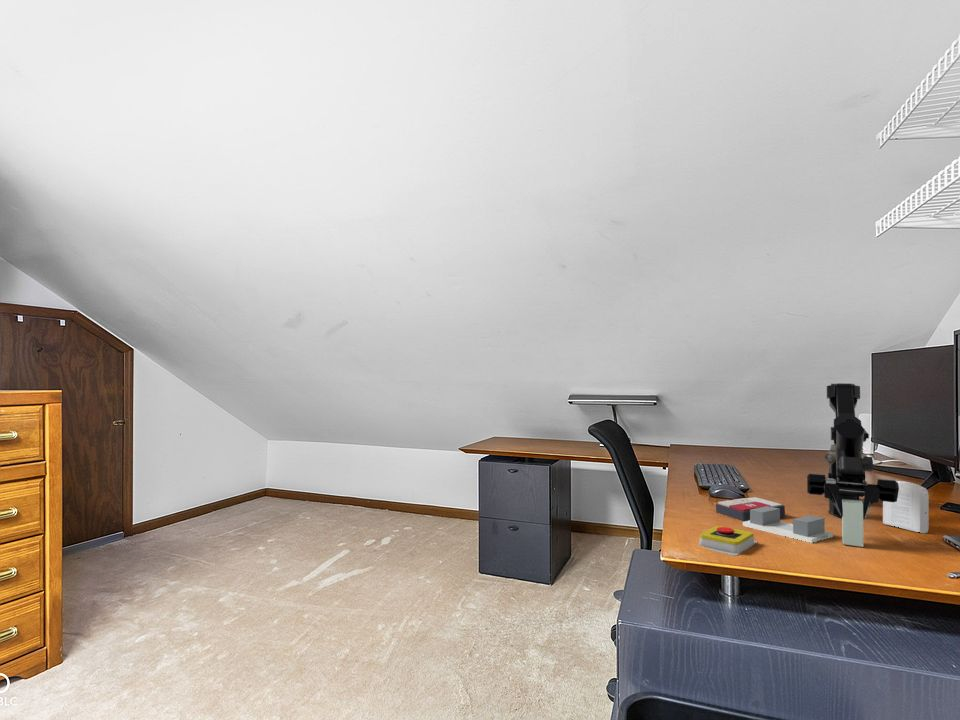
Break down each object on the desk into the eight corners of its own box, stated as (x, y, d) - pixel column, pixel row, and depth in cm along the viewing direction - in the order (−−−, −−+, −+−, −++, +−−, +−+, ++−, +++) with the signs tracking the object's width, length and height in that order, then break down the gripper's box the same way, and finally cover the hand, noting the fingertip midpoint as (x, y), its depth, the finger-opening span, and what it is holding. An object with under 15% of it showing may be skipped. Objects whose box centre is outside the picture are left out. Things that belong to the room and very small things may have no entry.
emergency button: (695, 530, 133) (719, 518, 144) (695, 549, 133) (719, 536, 144) (735, 538, 127) (758, 525, 137) (736, 558, 126) (758, 544, 137)
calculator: (714, 500, 167) (755, 495, 171) (715, 515, 167) (755, 509, 171) (743, 509, 156) (785, 503, 161) (743, 525, 156) (786, 518, 161)
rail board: (742, 525, 152) (742, 508, 152) (764, 520, 157) (764, 504, 157) (811, 543, 136) (811, 524, 136) (833, 537, 142) (832, 518, 142)
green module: (842, 539, 138) (841, 498, 139) (861, 542, 136) (861, 500, 137) (843, 544, 135) (842, 502, 135) (863, 546, 133) (863, 504, 133)
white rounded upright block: (932, 532, 146) (931, 484, 147) (922, 534, 145) (921, 485, 145) (889, 522, 156) (889, 477, 156) (880, 524, 154) (879, 478, 154)
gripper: (807, 441, 144) (807, 492, 134) (897, 446, 135) (904, 502, 125) (807, 467, 151) (807, 518, 141) (893, 474, 142) (900, 529, 132)
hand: (852, 516), depth 135 cm, fingers closed on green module, 4 cm apart
